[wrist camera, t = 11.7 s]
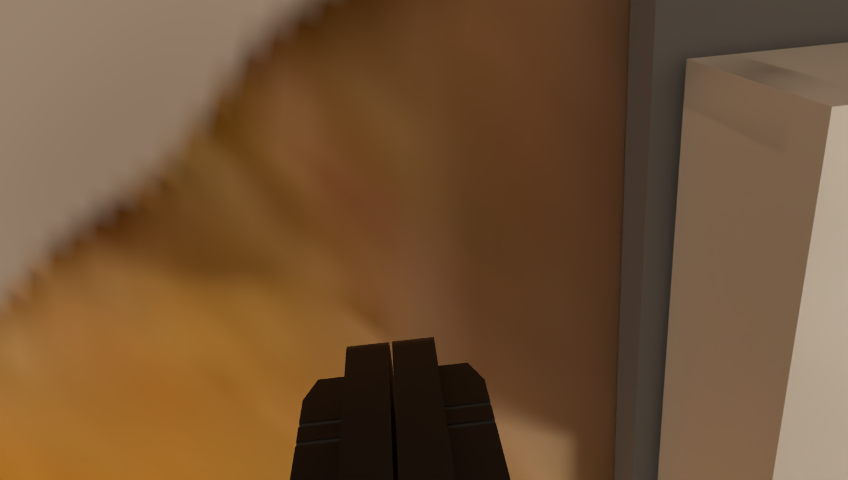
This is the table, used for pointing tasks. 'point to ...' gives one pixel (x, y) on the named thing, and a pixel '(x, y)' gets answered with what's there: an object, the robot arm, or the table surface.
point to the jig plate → (676, 178)
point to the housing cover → (760, 271)
